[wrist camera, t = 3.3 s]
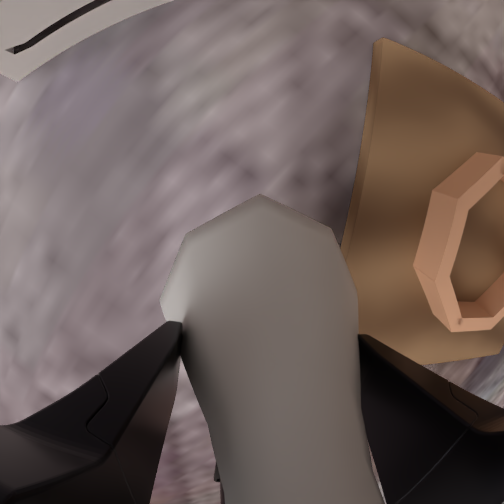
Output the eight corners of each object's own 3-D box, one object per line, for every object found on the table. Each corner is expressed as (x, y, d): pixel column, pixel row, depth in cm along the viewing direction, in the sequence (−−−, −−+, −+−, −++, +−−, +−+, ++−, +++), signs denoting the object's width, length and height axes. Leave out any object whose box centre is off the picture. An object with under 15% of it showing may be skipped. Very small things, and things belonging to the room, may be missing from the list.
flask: (258, 155, 10) (558, 289, 1) (381, 284, 12) (538, 471, 3) (130, 297, 11) (24, 542, 2) (260, 388, 13) (292, 594, 4)
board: (492, 347, 22) (498, 353, 21) (309, 358, 19) (313, 369, 18) (549, 146, 15) (558, 148, 14) (373, 42, 13) (383, 37, 12)
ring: (494, 313, 19) (511, 327, 16) (396, 313, 17) (414, 333, 15) (532, 183, 15) (554, 189, 13) (441, 136, 14) (468, 137, 12)
